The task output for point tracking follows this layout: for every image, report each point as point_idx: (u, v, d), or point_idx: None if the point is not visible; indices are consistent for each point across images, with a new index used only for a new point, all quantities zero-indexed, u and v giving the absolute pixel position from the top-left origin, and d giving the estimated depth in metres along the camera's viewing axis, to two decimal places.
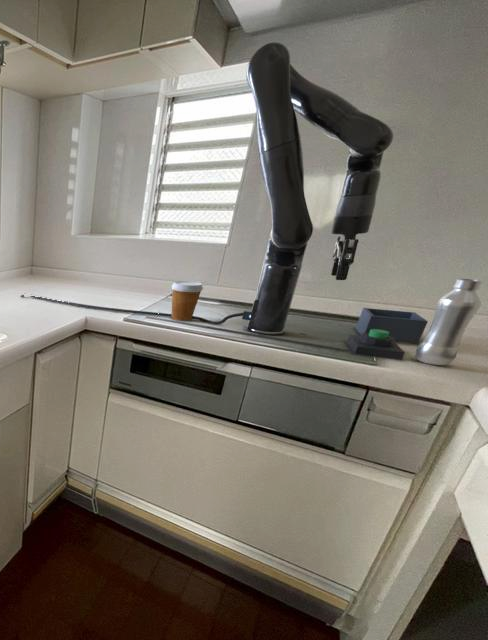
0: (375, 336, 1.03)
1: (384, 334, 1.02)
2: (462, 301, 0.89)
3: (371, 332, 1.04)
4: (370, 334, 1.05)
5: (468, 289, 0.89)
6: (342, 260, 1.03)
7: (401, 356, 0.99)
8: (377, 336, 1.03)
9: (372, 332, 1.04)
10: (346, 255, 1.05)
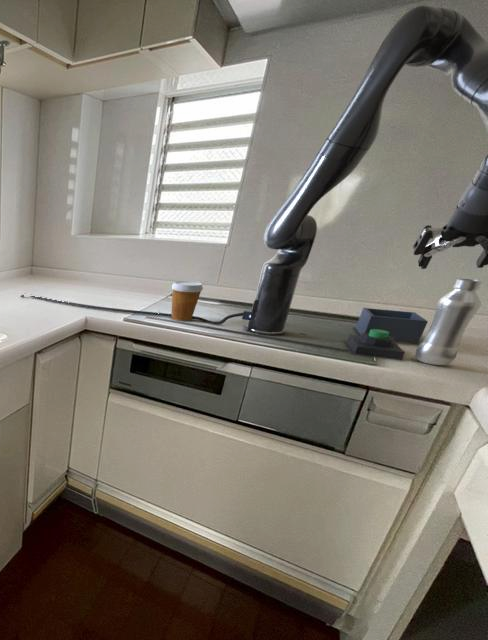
0: (375, 336, 1.03)
1: (384, 334, 1.02)
2: (462, 301, 0.89)
3: (371, 332, 1.04)
4: (370, 334, 1.05)
5: (468, 289, 0.89)
6: (414, 245, 0.89)
7: (401, 356, 0.99)
8: (377, 336, 1.03)
9: (372, 332, 1.04)
10: (436, 244, 0.86)
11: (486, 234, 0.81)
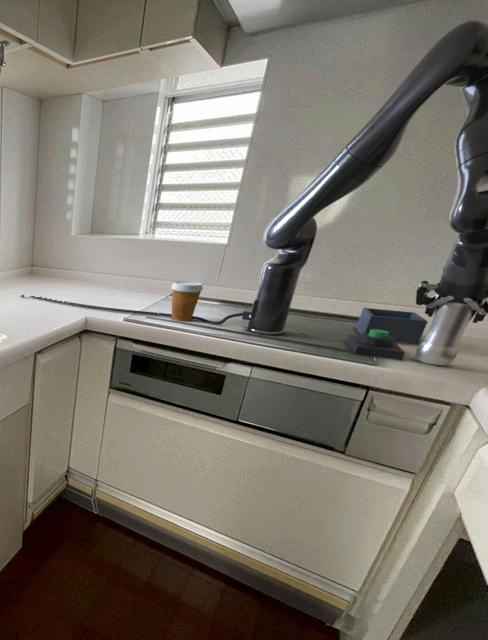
0: (375, 336, 1.03)
1: (384, 334, 1.02)
2: None
3: (371, 332, 1.04)
4: (370, 334, 1.05)
5: None
6: None
7: (401, 356, 0.99)
8: (377, 336, 1.03)
9: (372, 332, 1.04)
10: None
11: (475, 296, 0.86)
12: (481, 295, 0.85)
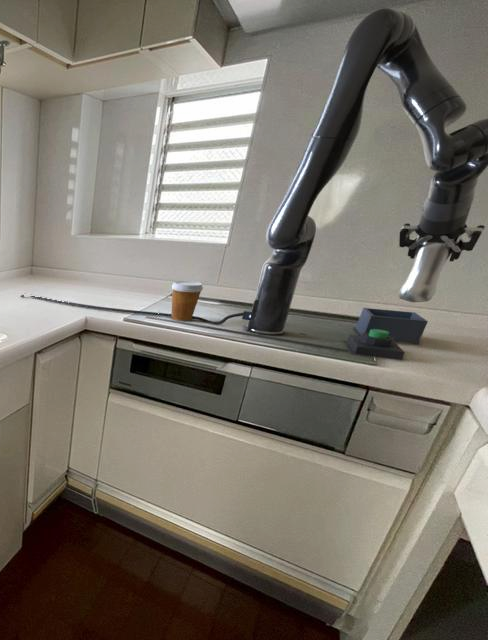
0: (375, 336, 1.03)
1: (384, 334, 1.02)
2: None
3: (371, 332, 1.04)
4: (370, 334, 1.05)
5: None
6: None
7: (401, 356, 0.99)
8: (377, 336, 1.03)
9: (372, 332, 1.04)
10: None
11: (450, 234, 0.96)
12: (456, 232, 0.95)
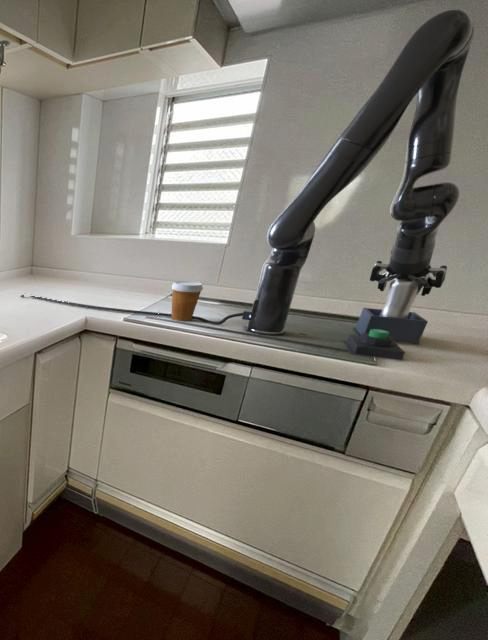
0: (375, 336, 1.03)
1: (384, 334, 1.02)
2: (409, 281, 1.09)
3: (371, 332, 1.04)
4: (370, 334, 1.05)
5: None
6: None
7: (401, 356, 0.99)
8: (377, 336, 1.03)
9: (372, 332, 1.04)
10: None
11: (417, 273, 1.06)
12: (421, 272, 1.05)
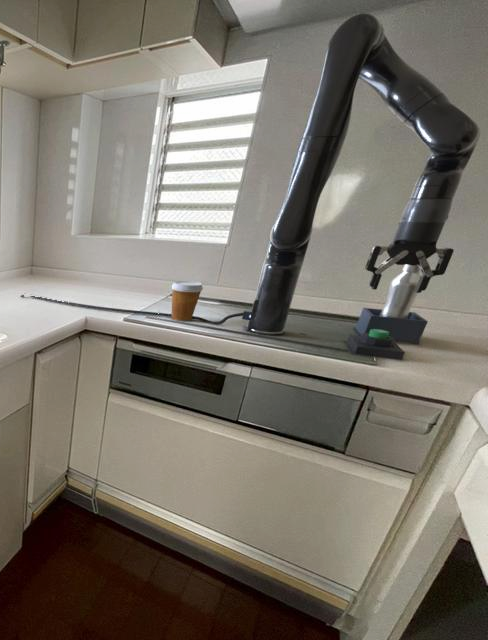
0: (375, 336, 1.03)
1: (384, 334, 1.02)
2: (409, 281, 1.09)
3: (371, 332, 1.04)
4: (370, 334, 1.05)
5: (413, 272, 1.09)
6: (365, 266, 1.02)
7: (401, 356, 0.99)
8: (377, 336, 1.03)
9: (372, 332, 1.04)
10: (384, 263, 0.99)
11: (424, 252, 0.94)
12: (429, 250, 0.94)
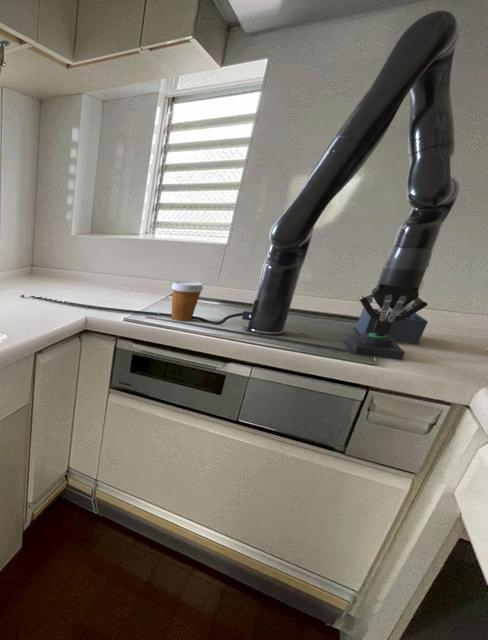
0: None
1: (382, 338, 1.03)
2: None
3: (370, 336, 1.05)
4: None
5: None
6: None
7: (401, 356, 0.99)
8: None
9: (371, 336, 1.04)
10: (380, 310, 1.03)
11: (407, 297, 0.98)
12: (412, 294, 0.98)
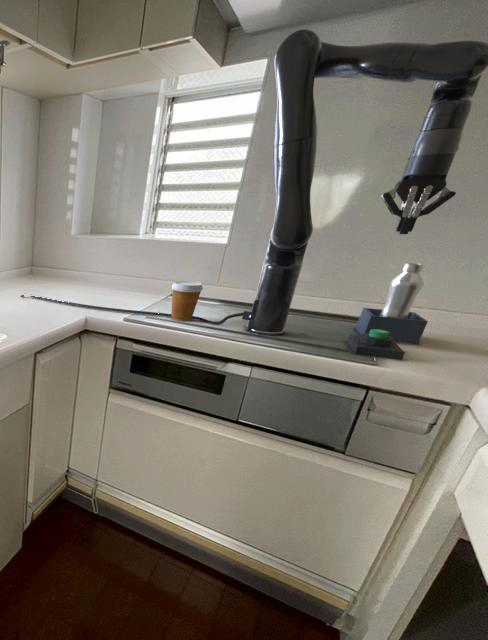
0: (375, 336, 1.03)
1: (384, 334, 1.02)
2: (409, 281, 1.09)
3: (371, 332, 1.04)
4: (370, 334, 1.05)
5: (413, 272, 1.09)
6: (391, 212, 0.99)
7: (401, 356, 0.99)
8: (377, 336, 1.03)
9: (372, 332, 1.04)
10: (404, 206, 0.96)
11: (433, 187, 0.92)
12: (439, 184, 0.92)
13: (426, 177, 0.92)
